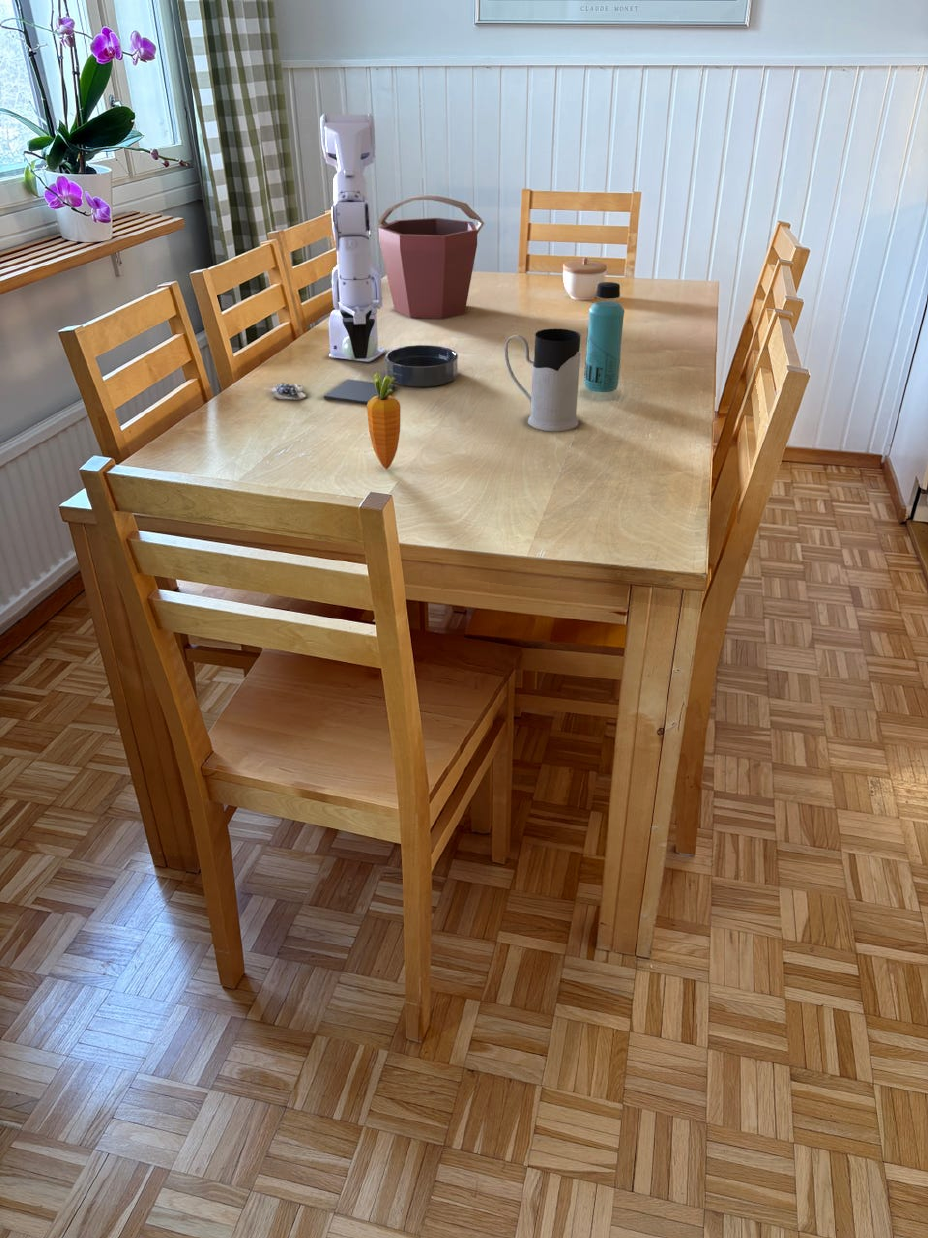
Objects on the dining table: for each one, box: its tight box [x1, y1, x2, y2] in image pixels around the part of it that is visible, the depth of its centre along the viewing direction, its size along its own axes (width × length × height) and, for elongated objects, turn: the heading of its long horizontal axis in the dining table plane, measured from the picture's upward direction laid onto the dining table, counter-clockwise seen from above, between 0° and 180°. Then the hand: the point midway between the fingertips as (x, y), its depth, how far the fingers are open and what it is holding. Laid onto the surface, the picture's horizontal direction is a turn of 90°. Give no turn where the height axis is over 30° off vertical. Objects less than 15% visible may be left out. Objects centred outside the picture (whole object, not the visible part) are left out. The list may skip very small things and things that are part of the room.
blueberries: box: [270, 382, 307, 401], centre depth 173 cm, size 7×8×2 cm
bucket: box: [378, 195, 485, 320], centre depth 217 cm, size 24×22×25 cm
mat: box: [323, 378, 397, 405], centre depth 174 cm, size 10×10×1 cm
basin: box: [384, 344, 459, 388], centre depth 181 cm, size 14×14×4 cm
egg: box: [342, 336, 376, 361], centre depth 170 cm, size 6×4×4 cm
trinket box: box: [562, 257, 608, 301], centre depth 232 cm, size 11×11×9 cm
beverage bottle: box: [583, 281, 625, 393], centre depth 168 cm, size 6×7×20 cm
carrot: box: [366, 372, 401, 470], centre depth 141 cm, size 5×5×15 cm
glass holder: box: [504, 328, 582, 432], centre depth 159 cm, size 9×14×15 cm, turn 58°
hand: (359, 353), depth 170 cm, fingers closed on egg, 4 cm apart
